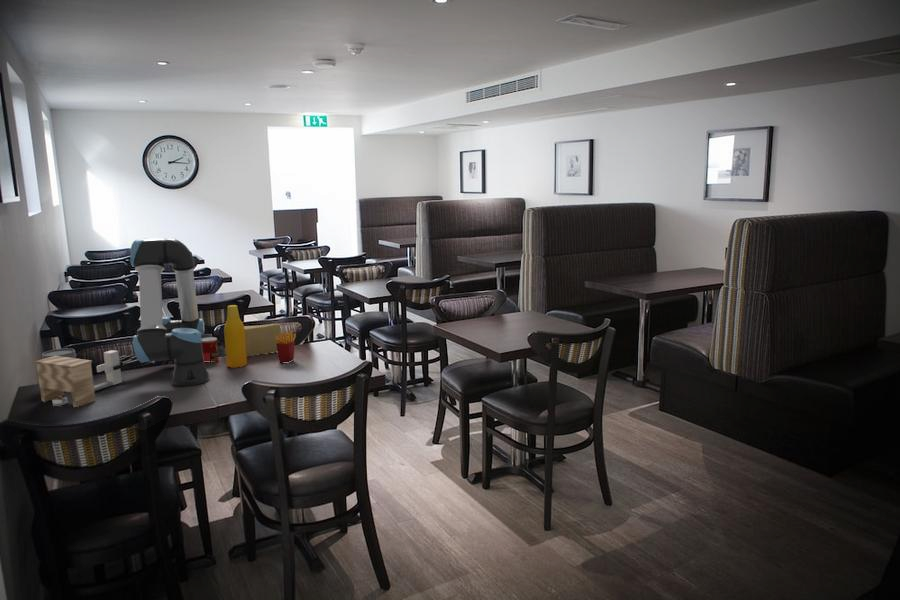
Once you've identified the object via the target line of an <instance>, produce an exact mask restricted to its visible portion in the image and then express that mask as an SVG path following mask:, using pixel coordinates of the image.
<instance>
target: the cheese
mask: <svg viewBox="0 0 900 600" xmlns="http://www.w3.org/2000/svg"><path fill="white" fill-rule="evenodd" d="M244 330H245V343H246V356H247V358H249V357H248V356H251V357H253V356H252V355H257V354H265V353H271V352H276V351H277V346H276V343H278V342H277V339H276V337H275V335H277V337H278V339H279V335H278V333H280V335H282V331H281V325H280V324H279V323H270V324H262V325H261V324H260V325H259V324H258V325H251V326H250V325H248V326H247V325H244ZM265 355H266V354H265ZM257 356H258V355H257Z"/></svg>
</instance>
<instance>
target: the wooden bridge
mask: <svg viewBox="0 0 900 600" xmlns="http://www.w3.org/2000/svg"><path fill="white" fill-rule="evenodd" d="M92 363H93V361H92V360H91V359H83V358H69V357H62V356H53V357H49V358H45V359H42V358H41V359H40V360H35V361H34V364H36V369H37V376H38V383H39V391H40V397H41V402H42V401H43V402H42V403H47V402H50V401H52V399H54V398H57V397H59V396H62V395H64V396H65V392H66V393H71V398H72V406H73V408H75V407H78V408H80V407H79V406H81V407H83V406H86V405H88V404H87V403H89V404H91V403H90V402H92V403H93V401H94V402H96V393H95V392H96V391H94V386H95V385H94V378H93V377H94V376H93V368H92ZM62 397H63V396H62ZM49 400H50V401H49ZM46 401H47V402H46ZM85 404H86V405H85ZM82 405H83V406H82Z"/></svg>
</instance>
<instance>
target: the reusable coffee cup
mask: <svg viewBox="0 0 900 600" xmlns="http://www.w3.org/2000/svg"><path fill="white" fill-rule="evenodd" d="M53 356H62V357H69V358H76V357H77V353H76V350H75V349H74V348H57V349H52V350H47V351H44V352H42V354H41V360H42V359H45V358H49V357H53Z"/></svg>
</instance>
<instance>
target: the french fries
mask: <svg viewBox="0 0 900 600" xmlns="http://www.w3.org/2000/svg"><path fill="white" fill-rule="evenodd" d="M281 334H282V335H280V333H278V335H279V339H278V337H277V335H275V337H276V339H277V342H278V343H276V346H277V351H278V353H277V357H278V360H279V361H278V362H279V363H280V362H289V361H291V360H293V359H294V360H295V344H296V342H295V339H296V335H297V334H296V333H294V334H293V331H292V330H290V331H289V332H288V331H283V332H281Z"/></svg>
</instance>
